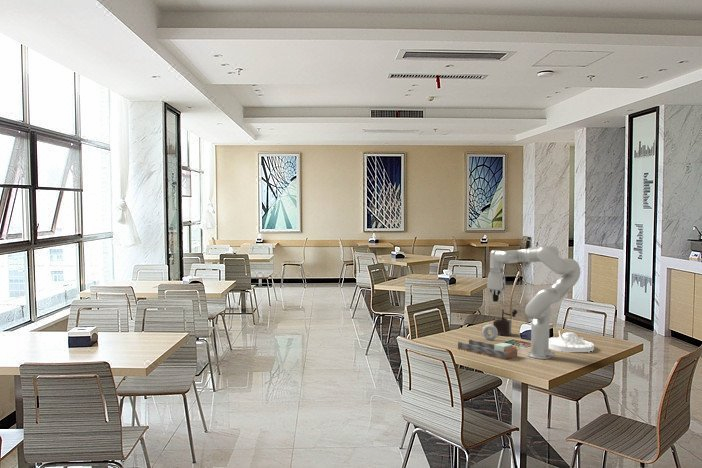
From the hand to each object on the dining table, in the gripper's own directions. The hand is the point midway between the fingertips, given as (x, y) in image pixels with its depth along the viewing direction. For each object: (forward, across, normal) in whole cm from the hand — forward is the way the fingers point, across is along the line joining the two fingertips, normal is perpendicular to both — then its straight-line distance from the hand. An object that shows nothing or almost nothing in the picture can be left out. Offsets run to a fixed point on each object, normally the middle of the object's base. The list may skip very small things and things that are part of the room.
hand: (495, 301), depth 332 cm
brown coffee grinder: (+28, +14, -38) cm, 50 cm away
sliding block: (+26, -14, +15) cm, 33 cm away
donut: (+28, +13, -16) cm, 35 cm away
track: (+28, -4, +14) cm, 32 cm away
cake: (+28, -30, -35) cm, 54 cm away
